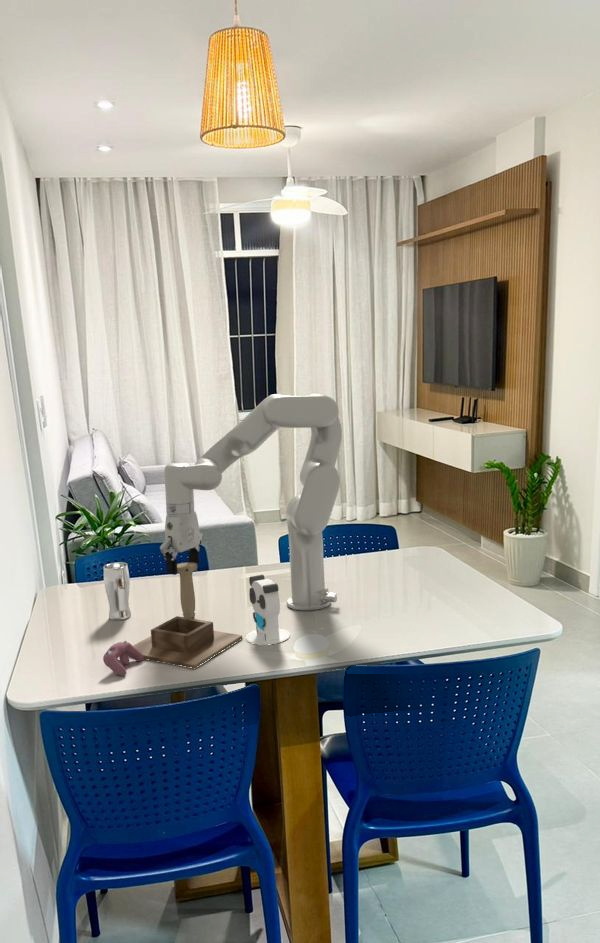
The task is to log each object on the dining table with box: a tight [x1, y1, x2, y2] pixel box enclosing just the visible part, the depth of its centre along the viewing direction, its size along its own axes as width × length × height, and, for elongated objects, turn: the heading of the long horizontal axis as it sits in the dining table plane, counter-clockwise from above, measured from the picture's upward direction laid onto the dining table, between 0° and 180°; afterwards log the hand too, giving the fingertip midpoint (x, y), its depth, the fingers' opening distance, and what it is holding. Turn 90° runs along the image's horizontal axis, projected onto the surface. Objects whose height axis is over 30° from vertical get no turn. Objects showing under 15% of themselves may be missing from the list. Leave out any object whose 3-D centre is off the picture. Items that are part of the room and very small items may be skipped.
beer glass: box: [103, 561, 132, 621], centre depth 214 cm, size 7×7×15 cm
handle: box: [177, 562, 198, 619], centre depth 211 cm, size 5×6×15 cm
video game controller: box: [102, 640, 144, 677], centre depth 179 cm, size 10×5×7 cm, turn 164°
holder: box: [132, 615, 243, 669], centre depth 190 cm, size 22×20×6 cm
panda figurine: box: [245, 574, 291, 646], centre depth 194 cm, size 12×11×15 cm
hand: (183, 569), depth 210 cm, fingers open, 9 cm apart
